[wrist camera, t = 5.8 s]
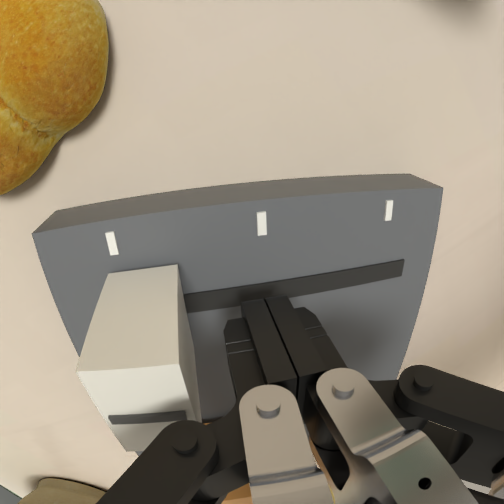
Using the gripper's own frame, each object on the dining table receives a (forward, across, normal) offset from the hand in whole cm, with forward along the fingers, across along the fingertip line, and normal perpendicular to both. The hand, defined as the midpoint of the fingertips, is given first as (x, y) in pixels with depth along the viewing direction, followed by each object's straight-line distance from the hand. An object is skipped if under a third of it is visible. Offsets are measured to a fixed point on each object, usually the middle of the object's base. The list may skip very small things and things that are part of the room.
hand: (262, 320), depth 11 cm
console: (+4, 0, +4) cm, 6 cm away
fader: (+1, +4, 0) cm, 4 cm away
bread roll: (+4, +9, -10) cm, 14 cm away
